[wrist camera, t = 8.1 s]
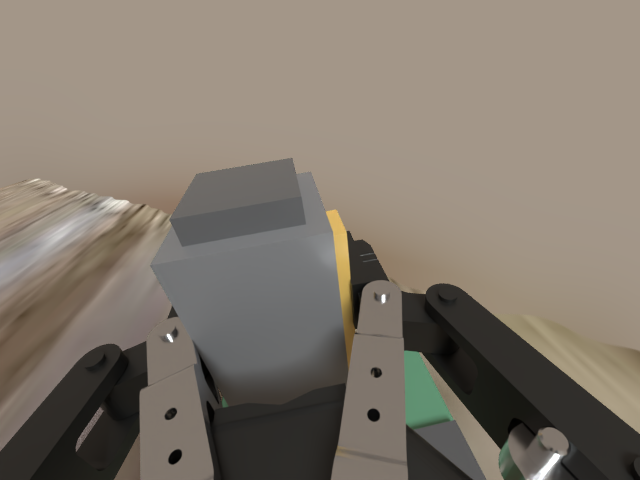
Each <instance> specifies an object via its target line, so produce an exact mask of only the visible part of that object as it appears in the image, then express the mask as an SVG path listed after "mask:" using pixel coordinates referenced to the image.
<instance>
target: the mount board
mask: <svg viewBox="0 0 640 480" xmlns="http://www.w3.org/2000/svg"><path fill="white" fill-rule="evenodd" d="M404 370H405V412H406V424H407V425H408V426H409V427H411V428H412V429H413V430H414V431H415V432H417V433H418V434H419V435H420V436H421V437H423V438H424V439H425V440H426V441H427V442H428V443H430V444H431V445H432V446H433V447H434V448H436V449H437V450H438V451H439V452H440V453H442V454H443V455H444V456H445V457H446V458H448V459H449V460H450V461H451V462H452V463H454V464H455V465H456V466H457V467H458V468H460V469H461V470H462V471H463V472H464V473H466V474H467V475H468V476H469V477H471V478H472V479H473V480H486V478H485V476H484V474H483V472H482V470H481V468H480V467H479V465H478V463H477V461H476V459H475V457H474V455H473V453H472V451H471V449H470V447H469V446H468V444H467V442H466V440H465V438H464V436H463V434H462V432H461V430H460V428H459V426H458V425H457V423H456V421H455V420H453V418H452V416H451V414H450V412H449V410H448V408H447V406H446V404H445V402H444V400H443V399H442V397H441V395H440V393H439V391H438V389H437V387H436V385H435V383H434V381H433V379H432V377H431V375H430V374H429V372H428V370H427V368H426V366H425V364H424V362H423V360H422V358H421V356H420V354H419V352H414V351H404ZM222 406H223V408H224V407H229V406H228V404H227V403H226V401H225V399H224V397H223V398H222Z"/></svg>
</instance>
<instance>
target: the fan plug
mask: <svg viewBox="0 0 640 480" xmlns="http://www.w3.org/2000/svg"><path fill="white" fill-rule="evenodd" d="M169 220H170V222H171V224H172V227H171V229H170V231H169V232H168V234H167V236H166V238H165V239H164V241H163V243H162V245H161V247H160V248H159V250H158V252H157V254H156V256H155V257H154V259H153V261H152V263H151V265H150V266H151V268H152V270H153V272H154V273H155V275H156V277H157V279H158V281H159V282H160V284H161V286H162V288H163V290H164V291H165V293H166V295H167V297H168V298H169V300H170V302H171V304H172V306H173V307H174V309H175V311H176V313H177V315H178V316H179V318H180V320H181V322H182V324H183V325H184V327H185V329H186V331H187V333H188V334H189V336H190V338H191V340H193V342H194V344H195V346H196V347H197V349H198V352H199V354H200V356H201V358H202V359H203V361H204V363H205V365H206V367H207V368H208V370H209V372H210V374H211V376H212V377H213V379H214V381H215V383H216V385H217V386H218V388H219V390H220V392H221V394H222V395H223V397H224V399H225V401H226V403H227V404H228V406H234V405H239V404H244V403H260V404H275V405H281V404H284V403H287V402H289V401H291V400H293V399H295V398H297V397H299V396H301V395H303V394H305V393H307V392H309V391H312V390H314V389H318V388H323V387H328V386H333V385H338V384H343V383H345V384H346V386H347V379H348V372H349V366H350V359H351V352H352V345H353V338H354V334H355V328H354V325H353V315H352V300H351V285H350V280H351V278H350V265H349V253H348V241H347V232H346V230H345V228H344V225H343V223H342V221H341V219H340V216H339V214H338V212H337V210H331V211H326V212H325V209H324V206H323V204H322V201H321V198H320V195H319V193H318V190H317V187H316V185H315V182H314V179H313V176H312V174H311V172H307V173H301V174H296V172H295V168H294V164H293V159H292V158H290V159H283V160H278V161H272V162H265V163H260V164H253V165H247V166H241V167H235V168H229V169H223V170H217V171H211V172H205V173H199V174H196V176H195V177H194V179H193V181H192V183H191V184H190V186H189V187H188V189H187V191H186V193H185V194H184V196H183V198H182V199H181V201H180V203H179V204H178V206H177V208H176V209H175V211H174V213H173V214H172V216H171V218H170V219H169Z"/></svg>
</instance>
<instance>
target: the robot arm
mask: <svg viewBox="0 0 640 480" xmlns="http://www.w3.org/2000/svg"><path fill="white" fill-rule="evenodd" d="M346 232H347V241H348V253H349V265H350V278H351V280H350V285H351V300H352V315H353V325H354V328H355V329H357V333H355V334H354V338H353V345H352V352H351V359H350V366H349V372H348V379H347V386H346V384H345V383H343V384H338V385H333V386H328V387H323V388H318V389H314V390H312V391H309V392H307V393H305V394H303V395H301V396H299V397H297V398H295V399H293V400H291V401H289V402H287V403H284V404H281V405H275V404H260V403H244V404H239V405H234V406H229V407H224V408H223V406H222V402H221V398H220V394H219V390H218V387H217V385H216V383H215V381H214V379H213V377H212V376H211V374H210V372H209V370H208V368H207V367H206V365H205V363H204V361H203V359H202V358H201V356H200V354H199V352H198V349H197V347H196V346H195V344H194V342H193V340H191V338H190V336H189V334H188V333H187V331H186V329H185V327H184V325H183V324H182V322H181V320H180V318H179V316H178V315H177V313H176V311H175V309H174V307H173V306H172V308H171V311H170V313H169V316H168V318H167V320H164V321H162V322H161V323H159V324H158V325H156V326H155V327H154V328H153V329H152V330H151V332H150V333H149V335H148V337H147V341H145V342H143V343H141V344H139V345H136V346H134V347H132V348H129V349H127V350H125V351H122V350H121V349H120V348H119V346H117V345H115V344H106V345H102V346H99V347H97V348H95V349H93V350H91V351H90V352H88V353H87V354H85V355H84V356H83V357H82V358H81V359H80V360H79V361H78V362H77V363H76V364H75V365H74V366H73V367H72V369H71V370H70V371H69V372H68V373H67V374H66V376H65V377H64V378H63V379H62V380H61V381H60V383H59V384H58V385H57V386H56V387H55V388H54V390H53V391H52V392H51V393H50V394H49V395H48V397H47V398H46V399H45V400H44V401H43V402H42V404H41V405H40V406H39V407H38V408H37V409H36V411H35V412H34V413H33V414H32V415H31V416H30V418H29V419H28V420H27V421H26V422H25V423H24V425H23V426H22V427H21V428H20V429H19V430H18V432H17V433H16V434H15V435H14V436H13V437H12V439H11V440H10V441H9V442H8V443H7V444H6V446H5V447H4V448H3V449H2V450H1V451H0V480H114V478H115V476H116V475H117V473H118V471H119V469H120V467H121V465H122V464H123V462H124V460H125V458H126V456H127V454H128V453H129V451H130V449H131V447H132V445H133V443H134V441H135V440H136V438H137V436H138V434H139V432H140V480H473V479H472V478H471V477H469V476H468V475H467V474H466V473H464V472H463V471H462V470H461V469H460V468H458V467H457V466H456V465H455V464H454V463H452V462H451V461H450V460H449V459H448V458H446V457H445V456H444V455H443V454H442V453H440V452H439V451H438V450H437V449H436V448H434V447H433V446H432V445H431V444H430V443H428V442H427V441H426V440H425V439H424V438H423V437H421V436H420V435H419V434H418V433H417V432H415V431H414V430H413V429H412V428H411V427H409V426H408V425H407V424H406V412H405V370H404V351H414V352H422V354H423V355H424V356H425V358H426V359H427V360H428V361H429V362H430V364H431V365H432V366H433V367H434V369H435V370H436V371H437V372H438V373H439V375H440V376H441V377H442V378H443V380H444V381H445V382H446V383H447V384H448V386H449V387H450V388H451V389H452V391H453V392H454V393H455V394H456V395H457V397H458V398H459V399H460V400H461V402H462V403H463V404H464V405H465V406H466V408H467V409H468V410H469V411H470V413H471V414H472V415H473V416H474V417H475V419H476V420H477V421H478V422H479V424H480V425H481V426H482V427H483V428H484V430H485V431H486V432H487V433H488V435H489V436H490V437H491V438H492V439H493V441H494V442H495V443H496V444H497V446H498V447H499V448H500V449H501V451H500V454H499V468H500V471H501V474H502V476H503V478H504V480H640V434H639V433H638V432H636V431H635V430H634V429H633V428H631V427H630V426H629V425H628V424H627V423H625V422H624V421H623V420H622V419H620V418H619V417H618V416H617V415H615V414H614V413H613V412H612V411H611V410H609V409H608V408H607V407H606V406H604V405H603V404H602V403H601V402H600V401H598V400H597V399H596V398H595V397H593V396H592V395H591V394H590V393H588V392H587V391H586V390H585V389H584V388H582V387H581V386H580V385H579V384H577V383H576V382H575V381H574V380H573V379H571V378H570V377H569V376H568V375H566V374H565V373H564V372H563V371H561V370H560V369H559V368H558V367H557V366H555V365H554V364H553V363H552V362H550V361H549V360H548V359H547V358H546V357H544V356H543V355H542V354H541V353H539V352H538V351H537V350H536V349H534V348H533V347H532V346H531V345H530V344H528V343H527V342H526V341H525V340H523V339H522V338H521V337H520V336H519V335H517V334H516V333H515V332H514V331H512V330H511V329H510V328H509V327H507V326H506V325H505V324H504V323H503V322H501V321H500V320H499V319H498V318H496V317H495V316H494V315H493V314H492V313H490V312H489V311H488V310H487V309H485V308H484V307H483V306H482V305H480V304H479V303H478V302H477V301H476V300H474V299H473V298H472V297H471V296H469V295H468V294H467V293H466V292H465V291H463V290H462V289H460V288H459V287H456V286H454V285H450V284H436V285H433V286H431V287H430V288H429V289H428V290H427V291H426V294H415V293H407V292H403V291H401V290H400V288H399V287H398V286H397V285H395V284H394V283H392V282H389V280H388V278H387V276H386V274H385V273H384V270H383V268H382V266H381V265H380V263H379V261H378V260H377V257H376V255H375V254H374V251H373V249H372V247H371V245H369V244H368V243H367V242H365V241H363V240H357V241H354V240H353V238H352V236H351V233H350V231H346ZM99 407H101V408H102V409H103V410H104V412H103V413H102V415H101V416H100V418H99V419H98V421H97V422H96V424H95V425H94V427H93V428H92V430H91V431H90V433H89V434H88V436H87V437H86V439H85V440H84V442H83V443H82V445H81V446H80V448H79V449H78V451H77V452H76V449H75V448H76V443H77V440H78V438H79V436H80V435H81V433H82V432H83V430H84V429H85V427H86V426H87V425H88V423H89V422H90V420H91V419H92V417H93V416H94V414H95V413H96V412H97V410H98V409H99Z"/></svg>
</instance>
